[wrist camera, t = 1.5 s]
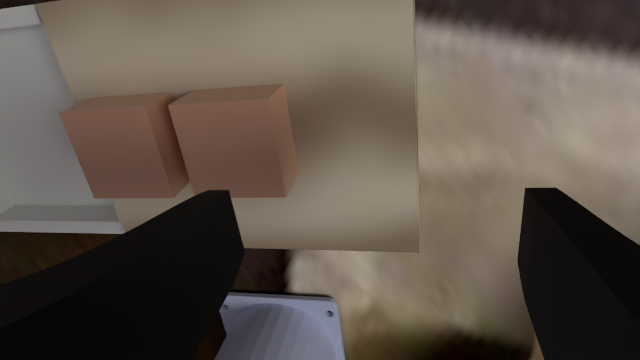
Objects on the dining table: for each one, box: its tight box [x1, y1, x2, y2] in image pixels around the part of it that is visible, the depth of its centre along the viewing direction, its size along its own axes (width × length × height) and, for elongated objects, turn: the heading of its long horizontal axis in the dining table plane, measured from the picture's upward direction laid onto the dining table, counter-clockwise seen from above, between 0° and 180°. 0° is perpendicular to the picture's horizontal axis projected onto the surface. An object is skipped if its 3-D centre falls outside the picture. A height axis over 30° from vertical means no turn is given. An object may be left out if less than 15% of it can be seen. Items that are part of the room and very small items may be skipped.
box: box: [0, 4, 125, 234], centre depth 23 cm, size 12×11×2 cm
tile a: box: [168, 84, 299, 198], centre depth 17 cm, size 4×4×2 cm
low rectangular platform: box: [36, 0, 419, 252], centre depth 20 cm, size 12×15×4 cm
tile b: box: [58, 92, 190, 198], centre depth 18 cm, size 4×4×2 cm
